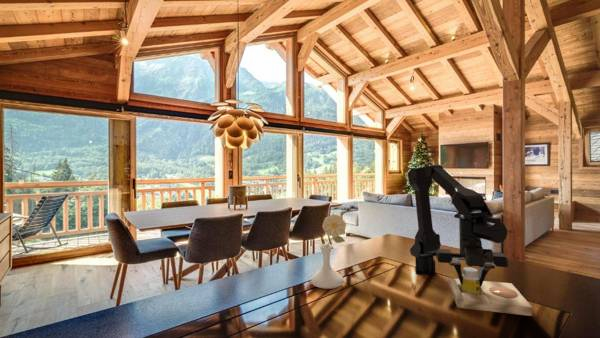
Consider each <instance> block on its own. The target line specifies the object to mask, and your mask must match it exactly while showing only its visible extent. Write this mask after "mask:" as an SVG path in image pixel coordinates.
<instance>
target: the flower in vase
mask: <svg viewBox="0 0 600 338" xmlns="http://www.w3.org/2000/svg"><path fill="white" fill-rule="evenodd" d="M346 227H347V222H346V221H345V220H344V218H343V217H342V216H341V215H339V214H335V213H333V214H331V215H330V214H329V215H328V216H327V217H325V218H324V220H323V222H322V229H323V231H324V233H325V234H326V235H327V236H330V237H331V238H330V239H329V241H328V240H327V239H325V238H323V237H320V236H319V239H321V240H323V241H325V242H327V243H322V244H319V245H318V248H319V249H320V250H321V253H322V259H323V261H322V262H323V264H322V267H321V268H320V269H318V270H317V272H314V274H313V275H312V276H311V279H310V282H311V284H312V285H313V286H314V287H317V288H319V289H326V290H329V289H336V288H339V287H340V286H342V285H343V284H344V282H345V281H344V278H343V276H342V275H341V274H340V273H339V272H337V271H336V270H335V269H333V268H332V266H331V262H330V261H331V259H330V258H331V251H332V249H333V248H334V245H333V244H331V242H332V240H333V241H334V242H335V243H336V244H340V243H343V242H345V239H344V238H343V237H342V236H341V235H343V234H344V233H345V230H346Z"/></svg>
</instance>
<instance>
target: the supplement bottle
mask: <svg viewBox="0 0 600 338" xmlns="http://www.w3.org/2000/svg"><path fill="white" fill-rule="evenodd" d="M462 273H463V274H462V279H463V285H462V292H461V293H469V294H480V279H479V269H477V268H474V267H472V266H466V267H463V269H462ZM480 295H481V294H480Z"/></svg>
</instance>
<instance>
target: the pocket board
mask: <svg viewBox="0 0 600 338" xmlns="http://www.w3.org/2000/svg"><path fill="white" fill-rule="evenodd" d="M448 287H449V288H450V291H451V294H452V296H453V300H454V302H455V304H456V307H457V308H459V309H466V310H476V311H482V312H483V311H484V312H493V313H500V314H501V313H502V314H503V313H504V314H508V315H509V314H512V315H519V316H521V315H522V316H528V317H533V306H532V305H531V304H530V303H529V302H528V301H527V299H526V298H525V297H524V296H523V295H522V294H521V293H520V291H519V290H518V288H516V286H514V284H513V283H511V282H501V281H489V280H487V281H486V280H484V281H483V283H482V286H480V294H469V293H462V285H461V283H460V280H459V278H457V277H456V278H454V277H453V278H452V277H449V278H448ZM490 287H505V288H509V289H512V290H514V291H515V292H517V294H518V296H517V297H514V298H506V297H501V296H497V295H495V294H493V293H491V292H490V291H489V288H490Z"/></svg>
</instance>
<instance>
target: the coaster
mask: <svg viewBox="0 0 600 338" xmlns="http://www.w3.org/2000/svg"><path fill="white" fill-rule="evenodd" d="M489 291H490V292H491V293H493V294H495V295H497V296H501V297H506V298H514V297H517V296H518V294H517V292H515V291H514V290H512V289H509V288H505V287H490V288H489Z"/></svg>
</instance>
